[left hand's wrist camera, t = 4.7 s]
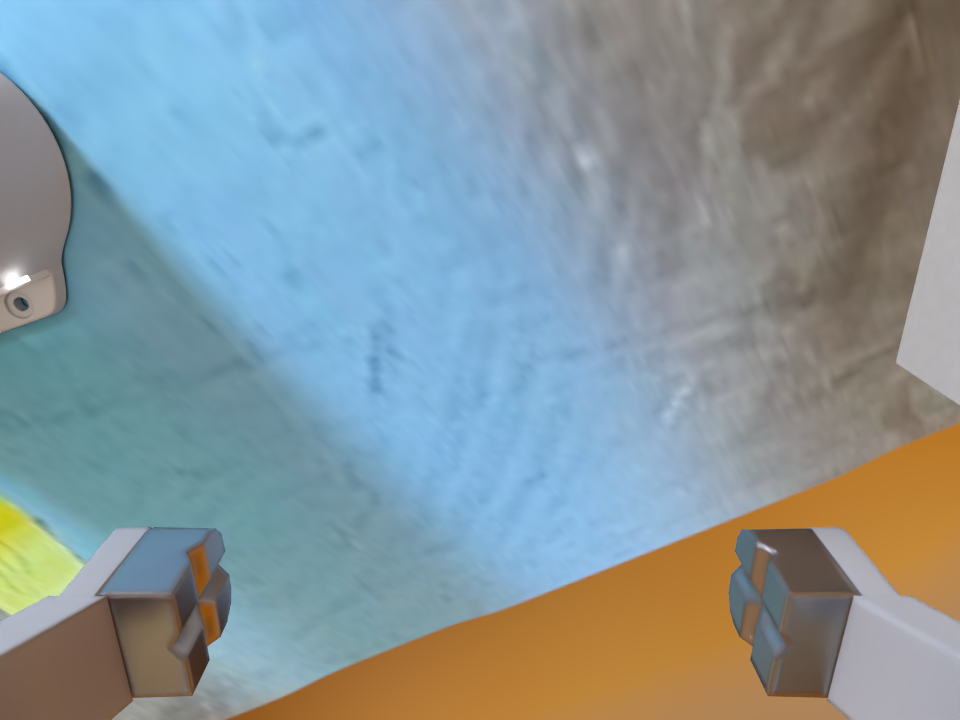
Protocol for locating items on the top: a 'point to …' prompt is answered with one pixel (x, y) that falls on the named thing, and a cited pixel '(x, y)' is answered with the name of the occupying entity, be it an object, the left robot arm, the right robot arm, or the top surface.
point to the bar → (938, 289)
